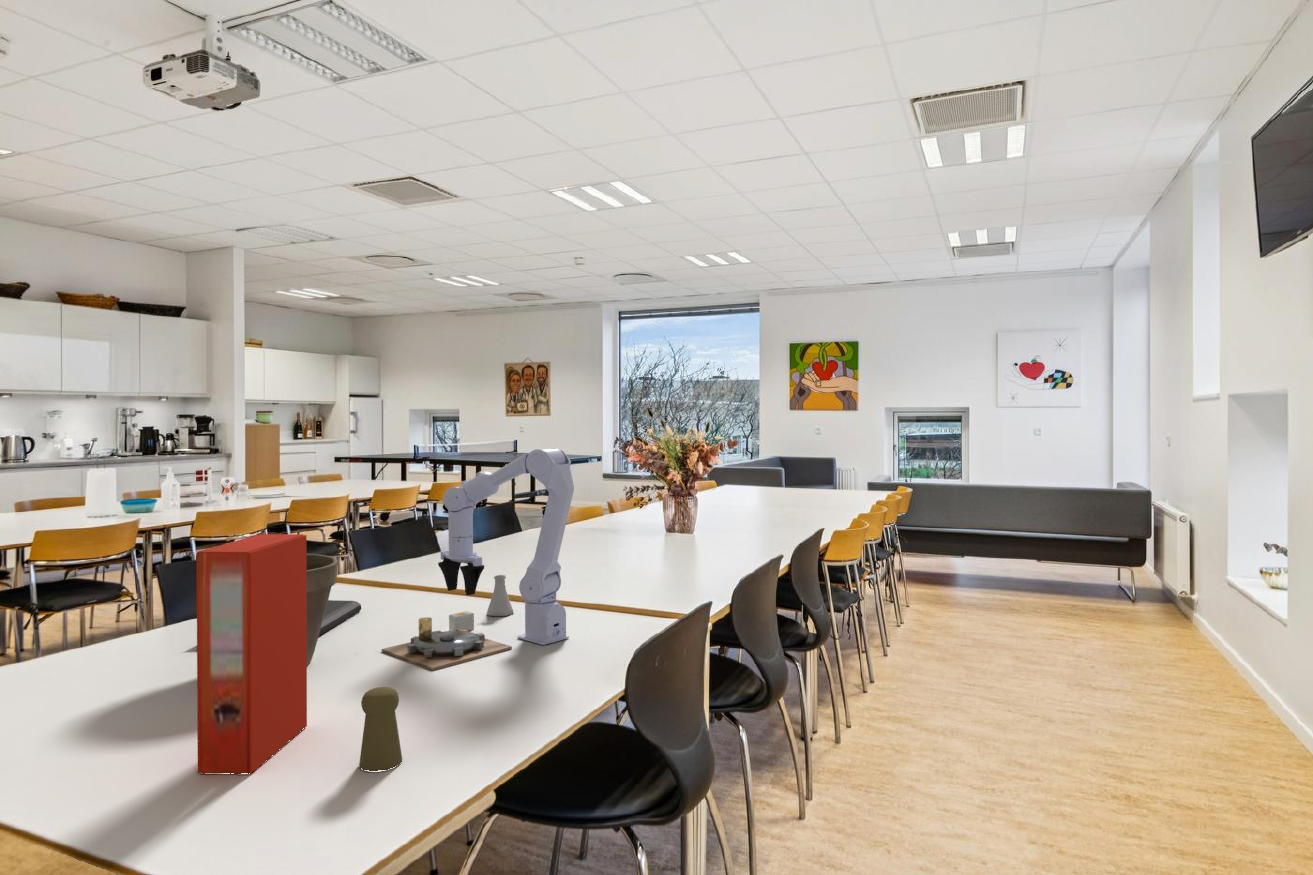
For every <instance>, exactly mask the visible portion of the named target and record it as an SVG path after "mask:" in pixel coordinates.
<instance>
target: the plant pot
mask: <svg viewBox="0 0 1313 875" xmlns="http://www.w3.org/2000/svg"><path fill="white" fill-rule="evenodd" d="M338 563H339V561H338V559H337V558H336V557H333V556H331V555H325V554H317V553H316V554H315V553H307V667H308V666H309V665H310V664H311V661H312V660H313V657H314V653H315V650H316V647H317V642H318V639H319V637H320V636H319V632H320V629H321V625H322V621H323V618H324V614H325V610H326V607H327V603H328V600H329V598H330V596H331V595H330V594H331V591H332V587H333V586H335V585H336V584H337V580H338V579H337V578H338V565H339V564H338ZM318 636H319V637H318Z"/></svg>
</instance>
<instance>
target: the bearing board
mask: <svg viewBox="0 0 1313 875" xmlns="http://www.w3.org/2000/svg"><path fill="white" fill-rule="evenodd" d="M408 644H411V641H410V642H406V643H402V644H401V643H400V644H398V645H393V646H388V647H384V648H381V652H382V651H383V652H382V653H384V652H385V653H384V654H386V653H388V654H387V655H389V654H390V655H389V656H392V655H393V656H392V657H394V656H395V658H397V657H398V659H400V660H402V659H403V661H405V662H408V663H411V664H413V665H415V666H418V665H420V666H419V667H421V666H423V667H422V668H424V667H425V668H424V669H426V668H428V669H427V670H429V669H431V670H430V671H432V670H434V671H436V670H435V669H437V670H440V669H439V668H441V669H444V668H443V667H445V668H447V667H446V666H448V667H450V666H449V665H452V666H455V665H459V664H461V663H465V662H469V661H474V660H477V659H481V658H484V656H485V657H488V656H491V654H492V655H495V654H494V653H496V654H498V653H497V652H499V653H502V652H501V651H503V652H505V651H504V650H507V651H509V650H508V649H510V650H512V649H513V646H512V645H509V644H506V643H502V642H499V641H496V640H492V639H488V638H486V637H485V642H484V648H482V649H481V650H475V649H474V650H472V651H469V652H465V653H463V655H461V656H454V655H447V656H434V657H432V658H429V657H424V655H423V654H419V653H417V652H415V653H409V652H408ZM487 655H488V656H487Z"/></svg>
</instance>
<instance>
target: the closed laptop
mask: <svg viewBox="0 0 1313 875" xmlns="http://www.w3.org/2000/svg"><path fill="white" fill-rule="evenodd" d="M361 610H362V604H361V603H360V602H359V601H357V600H356V601H355V600H334V599H333V600H332V599H330V600H329V599H328V603H327V607H326V610H325V614H324V618H323V621H322V625H321V629H320V632H319V636H318V638H319V637H320V636H322V635H324V634H325V633H327V632H329V631H331V630H332V629H334V628H335V627H337V626H338V624H339V625H340V624H342V623H343V622H346V621H347V620H349V619H350V618H352V617H353V616H355V615H356V614H359V613H360V611H361Z"/></svg>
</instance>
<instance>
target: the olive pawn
mask: <svg viewBox="0 0 1313 875" xmlns="http://www.w3.org/2000/svg"><path fill="white" fill-rule="evenodd" d="M360 702H361V703H360V704H361V708H362V711H363V713H364V714H365V717H364V725H363V732H362V740H361V749H360V756H359V765H358V767H359V766H360V768H362V769H363V770H369V771H378V770H388V769H390V768H393V767H395V766H397V765H399V764H400V763H401V762H402V763H403V761H402V760H403V756H402V749H401V742H400V735H399V728H398V721H397V715H396V710H397V708H398V706H399V702H400V696H399V693H398V692H397V690H396V688H393V687H389V686H379V687H374V688H371V689H368V690H367V691H366V692H365V693H364V694H363V695H362V698H361V700H360ZM402 763H401V764H402ZM401 764H400V765H401ZM400 765H399V766H400ZM360 768H359V769H360Z"/></svg>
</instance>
